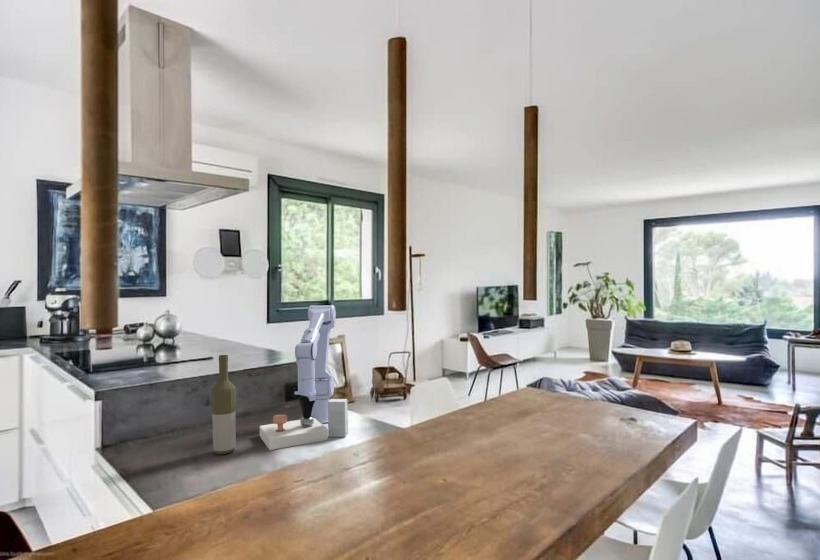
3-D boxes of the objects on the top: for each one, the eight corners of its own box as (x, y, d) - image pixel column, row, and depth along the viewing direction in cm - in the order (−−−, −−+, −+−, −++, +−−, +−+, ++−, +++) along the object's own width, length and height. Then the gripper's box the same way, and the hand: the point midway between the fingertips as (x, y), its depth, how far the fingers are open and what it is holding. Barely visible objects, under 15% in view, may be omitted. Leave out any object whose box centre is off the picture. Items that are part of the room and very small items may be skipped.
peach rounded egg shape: (272, 431, 154) (271, 415, 154) (285, 429, 156) (285, 413, 156) (275, 434, 150) (274, 418, 150) (288, 432, 152) (288, 416, 152)
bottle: (207, 456, 140) (206, 357, 141) (218, 447, 147) (217, 353, 148) (230, 456, 140) (229, 357, 140) (240, 448, 147) (239, 353, 147)
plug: (299, 432, 158) (298, 417, 158) (311, 430, 160) (311, 415, 160) (302, 435, 154) (302, 420, 154) (315, 433, 156) (315, 418, 156)
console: (259, 436, 158) (259, 425, 158) (313, 427, 167) (313, 417, 168) (269, 450, 144) (269, 439, 144) (328, 439, 153) (327, 429, 154)
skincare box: (348, 433, 160) (347, 398, 160) (345, 437, 155) (344, 401, 156) (331, 433, 160) (330, 398, 160) (327, 437, 156) (327, 401, 156)
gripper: (289, 375, 162) (289, 414, 162) (300, 382, 149) (301, 425, 149) (309, 373, 165) (309, 411, 165) (321, 380, 153) (322, 421, 152)
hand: (306, 417), depth 157 cm, fingers closed, pressing on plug
